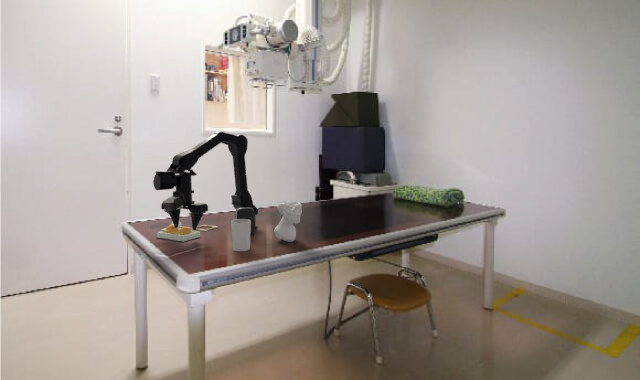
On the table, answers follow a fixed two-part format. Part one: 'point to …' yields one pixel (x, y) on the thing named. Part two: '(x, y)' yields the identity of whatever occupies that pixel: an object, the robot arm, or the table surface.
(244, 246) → the drinking glass
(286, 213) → the white figurine
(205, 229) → the collar
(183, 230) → the orange ball
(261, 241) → the table surface
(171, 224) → the white ball
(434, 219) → the table surface
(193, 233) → the green dish
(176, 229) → the orange ball
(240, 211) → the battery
